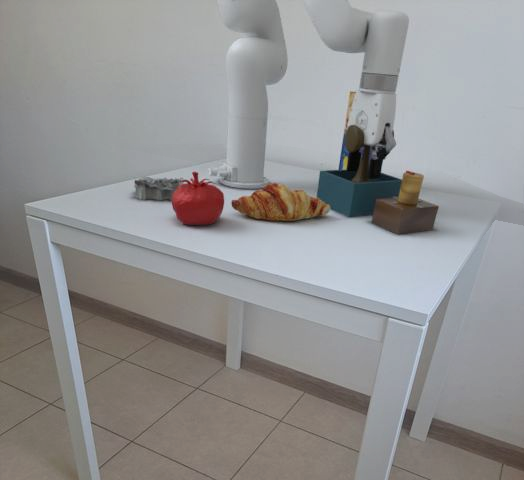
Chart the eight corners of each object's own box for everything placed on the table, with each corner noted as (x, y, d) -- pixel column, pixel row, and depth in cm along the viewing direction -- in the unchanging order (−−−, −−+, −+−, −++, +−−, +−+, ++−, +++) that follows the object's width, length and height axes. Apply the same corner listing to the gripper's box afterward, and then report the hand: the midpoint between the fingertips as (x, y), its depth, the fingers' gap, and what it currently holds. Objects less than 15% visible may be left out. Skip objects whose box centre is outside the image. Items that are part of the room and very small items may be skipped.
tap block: (397, 234, 97) (403, 208, 94) (371, 222, 103) (375, 197, 100) (433, 230, 101) (439, 205, 99) (405, 218, 107) (411, 194, 104)
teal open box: (349, 217, 105) (354, 183, 101) (315, 201, 114) (319, 170, 110) (398, 211, 112) (405, 180, 108) (363, 197, 121) (369, 168, 117)
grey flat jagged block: (133, 199, 104) (131, 180, 102) (138, 191, 111) (137, 172, 108) (183, 202, 105) (182, 182, 103) (185, 193, 112) (185, 174, 109)
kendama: (382, 205, 111) (401, 109, 101) (345, 206, 108) (361, 107, 98) (369, 198, 116) (386, 105, 106) (333, 199, 113) (347, 104, 102)
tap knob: (421, 204, 99) (428, 174, 96) (407, 205, 97) (414, 175, 94) (407, 198, 102) (413, 170, 99) (393, 200, 100) (399, 171, 97)
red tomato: (223, 230, 91) (225, 179, 86) (170, 228, 90) (168, 176, 85) (223, 215, 99) (224, 167, 94) (174, 212, 98) (172, 164, 93)
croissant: (321, 227, 108) (321, 191, 107) (339, 219, 98) (339, 179, 98) (228, 226, 103) (226, 187, 102) (237, 216, 93) (236, 174, 92)
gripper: (338, 79, 104) (326, 166, 113) (393, 87, 92) (375, 184, 101) (365, 81, 107) (351, 165, 117) (422, 89, 95) (401, 182, 104)
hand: (362, 173), depth 109 cm, fingers open, 6 cm apart
